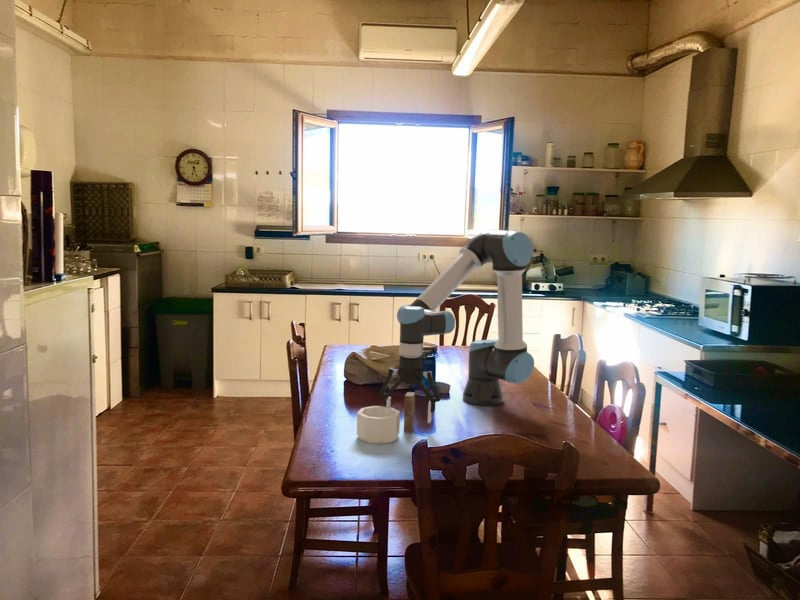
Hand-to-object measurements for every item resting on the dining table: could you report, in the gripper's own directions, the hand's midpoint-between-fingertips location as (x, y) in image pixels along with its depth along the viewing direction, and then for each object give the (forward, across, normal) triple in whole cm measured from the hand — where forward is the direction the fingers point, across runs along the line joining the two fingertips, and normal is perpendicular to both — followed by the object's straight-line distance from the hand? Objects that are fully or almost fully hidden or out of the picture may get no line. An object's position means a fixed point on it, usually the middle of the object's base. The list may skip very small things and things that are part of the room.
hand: (408, 419), depth 210 cm
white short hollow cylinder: (+4, +8, +9) cm, 12 cm away
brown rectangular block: (+4, 0, 0) cm, 4 cm away
